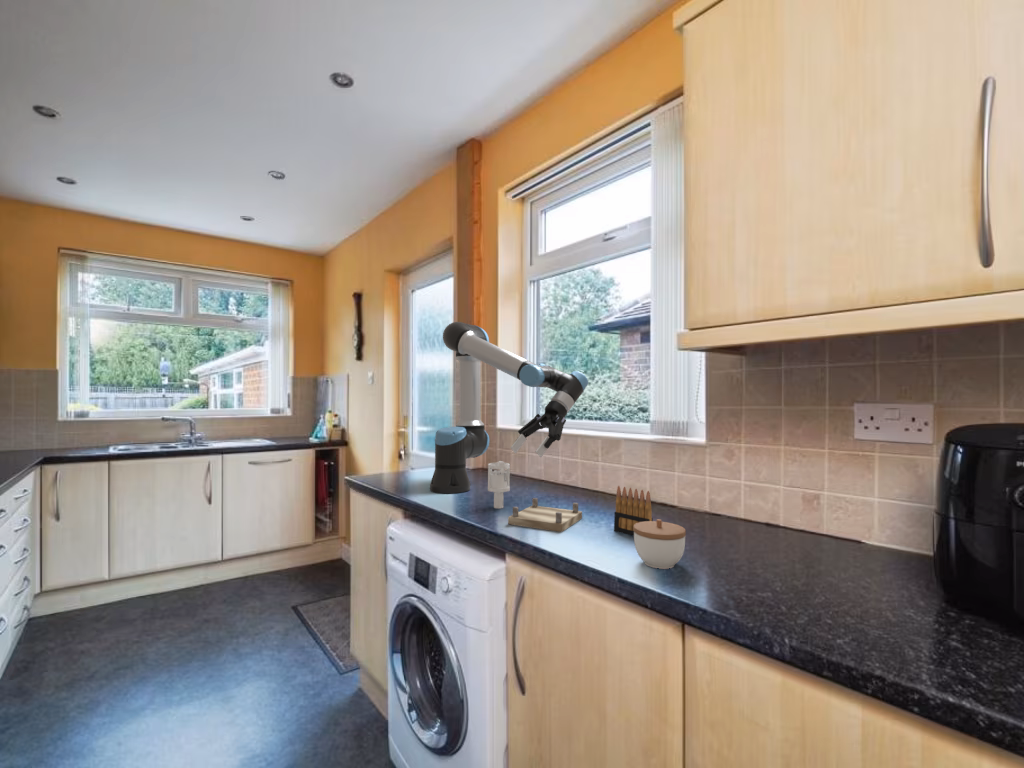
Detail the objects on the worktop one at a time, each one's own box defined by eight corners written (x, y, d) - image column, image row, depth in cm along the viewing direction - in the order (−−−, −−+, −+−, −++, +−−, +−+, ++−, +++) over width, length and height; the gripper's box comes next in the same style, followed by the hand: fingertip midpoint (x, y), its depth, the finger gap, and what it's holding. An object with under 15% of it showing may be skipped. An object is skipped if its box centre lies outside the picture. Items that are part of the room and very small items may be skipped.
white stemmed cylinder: (491, 510, 147) (492, 462, 147) (484, 505, 153) (485, 459, 154) (512, 508, 149) (513, 461, 150) (504, 504, 156) (505, 458, 156)
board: (532, 511, 146) (532, 497, 146) (582, 518, 138) (582, 502, 138) (508, 524, 131) (508, 507, 132) (561, 532, 124) (561, 514, 124)
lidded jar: (694, 564, 101) (694, 519, 101) (671, 577, 93) (671, 529, 94) (648, 552, 108) (648, 511, 109) (623, 563, 101) (623, 519, 101)
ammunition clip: (653, 538, 119) (653, 490, 119) (649, 540, 118) (649, 491, 118) (617, 529, 127) (617, 484, 127) (613, 530, 126) (613, 485, 126)
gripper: (589, 415, 159) (556, 463, 149) (541, 413, 179) (509, 455, 169) (578, 399, 156) (543, 448, 146) (531, 399, 176) (497, 441, 166)
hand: (525, 452), depth 158 cm, fingers open, 13 cm apart
